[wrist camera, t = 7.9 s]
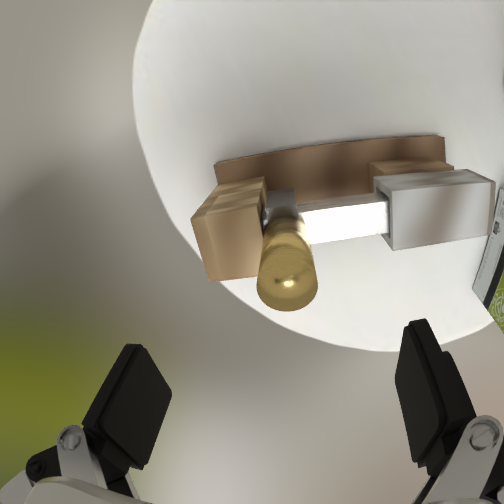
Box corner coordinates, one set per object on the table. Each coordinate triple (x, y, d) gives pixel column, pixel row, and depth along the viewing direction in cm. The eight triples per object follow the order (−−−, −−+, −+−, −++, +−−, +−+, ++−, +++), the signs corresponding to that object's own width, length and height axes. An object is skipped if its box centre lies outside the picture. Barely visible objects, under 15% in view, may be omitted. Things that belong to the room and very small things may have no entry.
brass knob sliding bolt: (406, 173, 21) (477, 218, 12) (407, 223, 23) (466, 290, 13) (231, 197, 23) (197, 258, 14) (242, 246, 25) (220, 328, 16)
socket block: (264, 176, 27) (256, 207, 18) (273, 224, 29) (270, 274, 21) (218, 184, 28) (190, 218, 19) (230, 231, 30) (209, 282, 21)
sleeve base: (437, 135, 24) (499, 152, 15) (439, 214, 28) (490, 258, 18) (216, 162, 28) (183, 189, 19) (236, 243, 32) (217, 301, 22)
